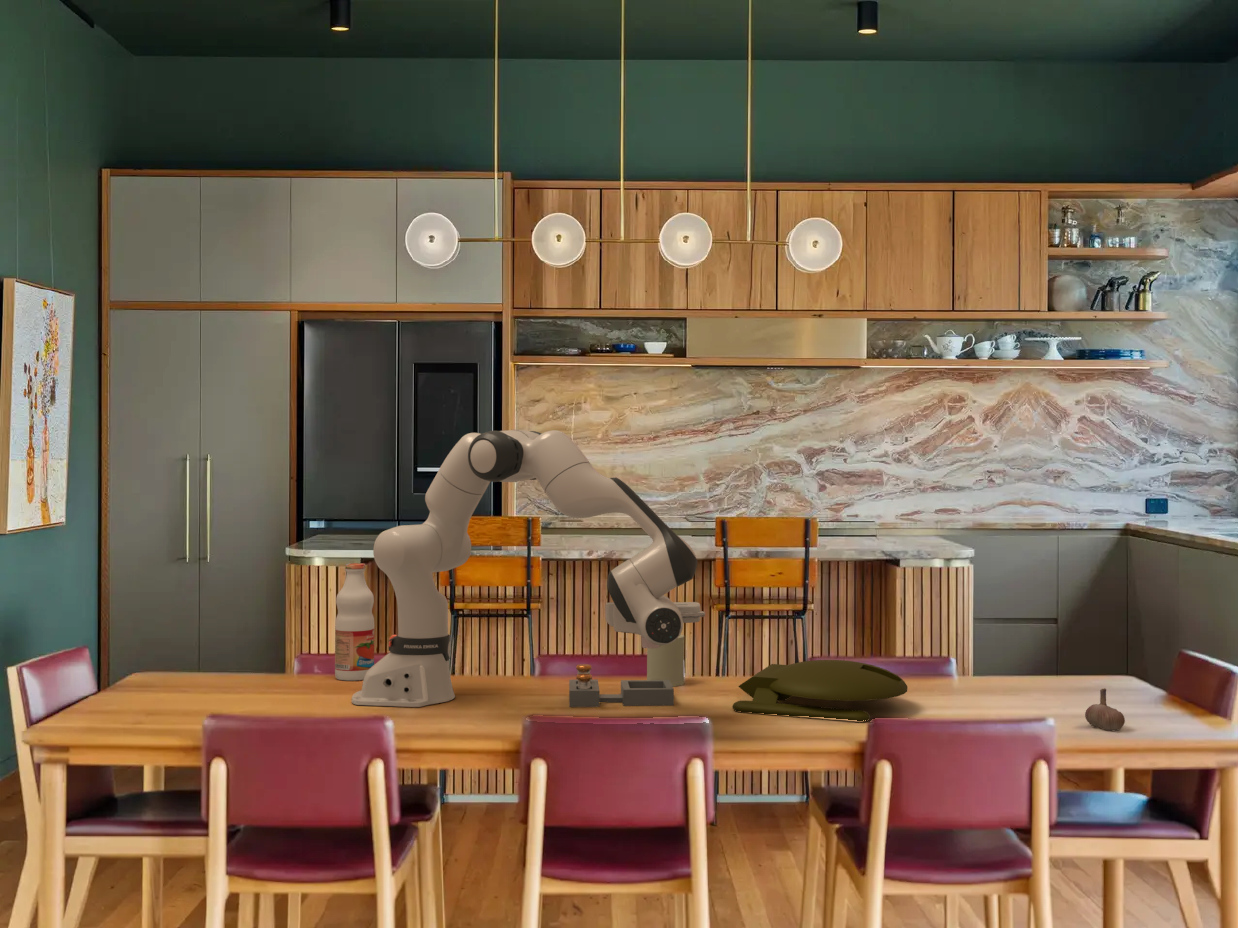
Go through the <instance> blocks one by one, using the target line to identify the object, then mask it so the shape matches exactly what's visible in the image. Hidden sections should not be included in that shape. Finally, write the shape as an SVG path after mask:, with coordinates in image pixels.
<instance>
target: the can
mask: <svg viewBox="0 0 1238 928" xmlns="http://www.w3.org/2000/svg"><path fill="white" fill-rule="evenodd" d="M646 653H647V654H646V655H647V656H646V680H669V681H670V683H671V685H672V687H673V688H675V687H681V686H683V685H685V676H684V675H685V674H684V673H685V668H684V667H685V664H684V663H685V661H684V660H685V658H684V657H685V656H684V655H685V635H684V634H682V633H681V634H680V636H679V637H678V638H677V639H676V640H675V641H674V642H672V643H670V644H666V645H660V646H659V648H646Z"/></svg>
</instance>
